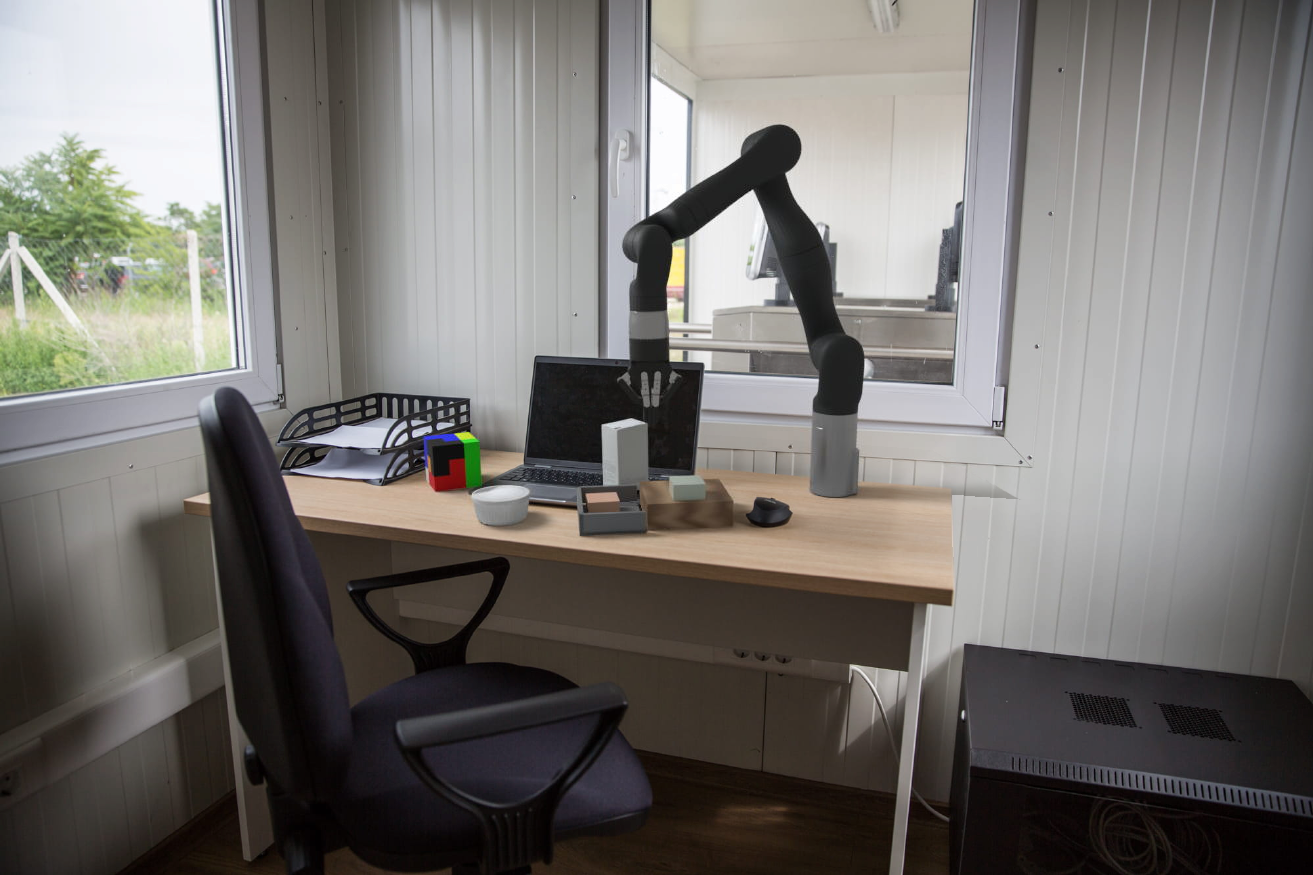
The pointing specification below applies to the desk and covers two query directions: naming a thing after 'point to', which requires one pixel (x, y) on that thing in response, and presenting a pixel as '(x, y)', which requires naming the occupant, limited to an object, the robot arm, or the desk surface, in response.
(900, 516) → the desk surface
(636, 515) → the box
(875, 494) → the desk surface
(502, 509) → the ramekin
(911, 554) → the desk surface
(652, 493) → the wooden riser block
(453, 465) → the puzzle toy
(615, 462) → the skincare box
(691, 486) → the sage tile
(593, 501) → the terracotta tile
